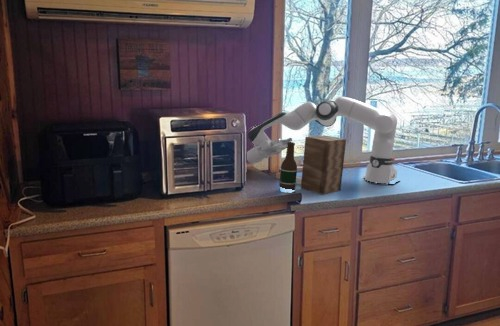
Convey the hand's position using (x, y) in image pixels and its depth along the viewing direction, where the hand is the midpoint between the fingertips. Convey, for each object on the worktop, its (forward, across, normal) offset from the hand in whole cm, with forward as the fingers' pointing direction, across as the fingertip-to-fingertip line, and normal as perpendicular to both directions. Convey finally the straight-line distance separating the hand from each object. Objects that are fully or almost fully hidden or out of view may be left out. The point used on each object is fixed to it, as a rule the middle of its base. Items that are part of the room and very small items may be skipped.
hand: (285, 139), depth 242 cm
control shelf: (+11, 0, +31) cm, 33 cm away
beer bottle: (+5, -19, +28) cm, 34 cm away
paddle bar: (-5, 0, +22) cm, 22 cm away
